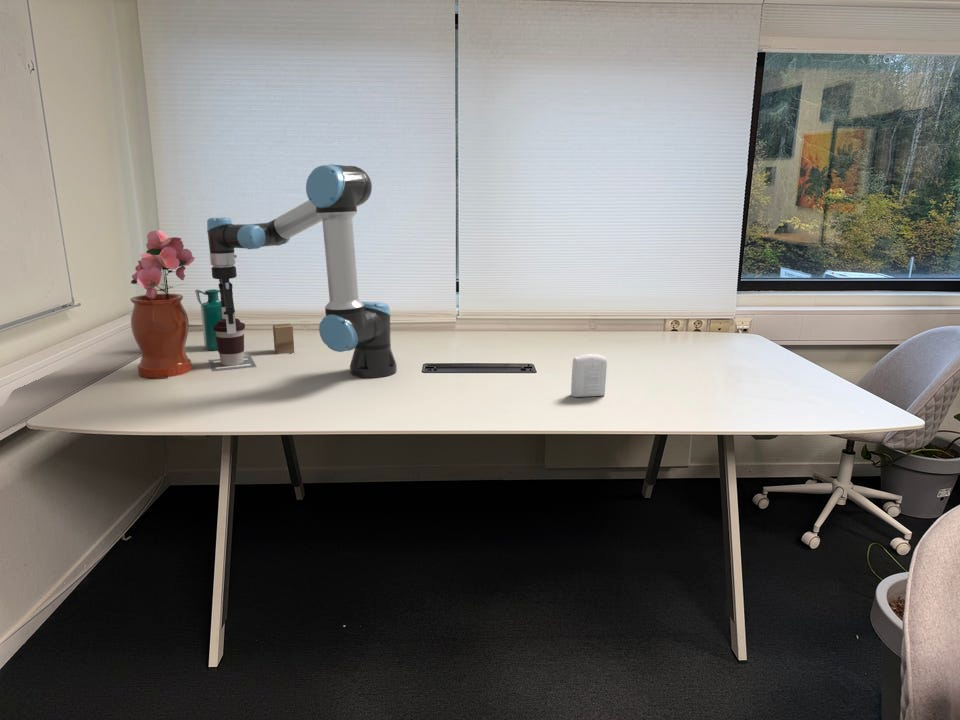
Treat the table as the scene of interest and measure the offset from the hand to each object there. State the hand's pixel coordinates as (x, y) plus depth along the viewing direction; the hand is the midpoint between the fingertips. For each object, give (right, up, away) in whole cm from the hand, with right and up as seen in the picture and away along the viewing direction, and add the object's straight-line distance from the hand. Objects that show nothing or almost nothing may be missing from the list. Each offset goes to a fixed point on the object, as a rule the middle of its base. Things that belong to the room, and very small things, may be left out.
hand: (229, 329), depth 222 cm
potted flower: (-17, -14, -5) cm, 23 cm away
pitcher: (-15, -6, +25) cm, 30 cm away
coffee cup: (0, -12, +3) cm, 12 cm away
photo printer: (+115, -21, -27) cm, 120 cm away
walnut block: (+12, -8, +20) cm, 25 cm away
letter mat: (0, -12, +3) cm, 12 cm away
